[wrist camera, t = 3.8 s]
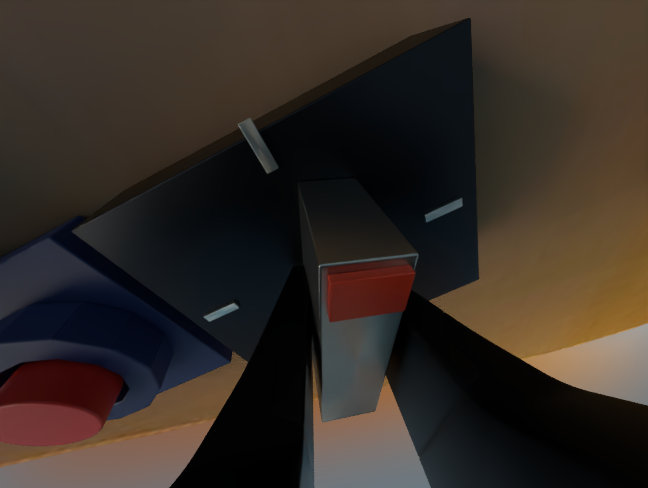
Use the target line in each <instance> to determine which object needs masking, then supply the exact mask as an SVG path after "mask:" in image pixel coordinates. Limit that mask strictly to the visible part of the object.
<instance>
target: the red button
mask: <svg viewBox="0 0 648 488" xmlns="http://www.w3.org/2000/svg"><path fill="white" fill-rule="evenodd" d="M123 383H124V380H123V378H122V377H121V375H119V374H117V373H115V372H112V371H110V370H108V369H106V368H103V367H101V366H99V365H96V364H89V363H82V362H75V361H68V360H61V359H53V360H42V361H31V362H27V363H25V364H23V365H22V366H20V367H19V368H18V369H17V370H16V371H15V372H14V373H13V374H12V376H11V377H10V378H9V379H8V380H7V381H6V382H5V384H4V385H3V386H2V387H1V388H0V442H5V443H10V444H17V445H27V446H52V445H62V444H69V443H74V442H78V441H82V440H85V439H88V438H90V437H92V436H94V435H95V434H97V433H98V432H99V431H100V430H101V429H102V428H103V426H104V424H105V422H106V420H107V418H108V416H109V414H110V412H111V409H112V407H113V405H114V403H115V401H116V399H117V397H118V395H119V393H120V391H121V389H122V387H123Z"/></svg>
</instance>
